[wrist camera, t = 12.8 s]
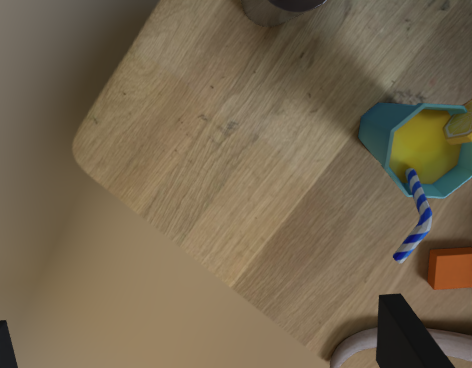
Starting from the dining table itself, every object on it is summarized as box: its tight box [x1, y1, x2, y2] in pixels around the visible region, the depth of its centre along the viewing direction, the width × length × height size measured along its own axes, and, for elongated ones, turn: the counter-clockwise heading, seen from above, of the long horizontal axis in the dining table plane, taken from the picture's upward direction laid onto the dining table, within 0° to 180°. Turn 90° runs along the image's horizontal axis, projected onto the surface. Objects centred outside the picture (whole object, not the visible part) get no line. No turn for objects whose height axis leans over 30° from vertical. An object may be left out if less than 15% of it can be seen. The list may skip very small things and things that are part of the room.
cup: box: [358, 99, 472, 263], centre depth 36 cm, size 14×8×15 cm, turn 154°
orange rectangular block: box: [427, 247, 472, 290], centre depth 46 cm, size 5×4×2 cm
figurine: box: [330, 327, 472, 368], centre depth 49 cm, size 6×27×4 cm, turn 90°
